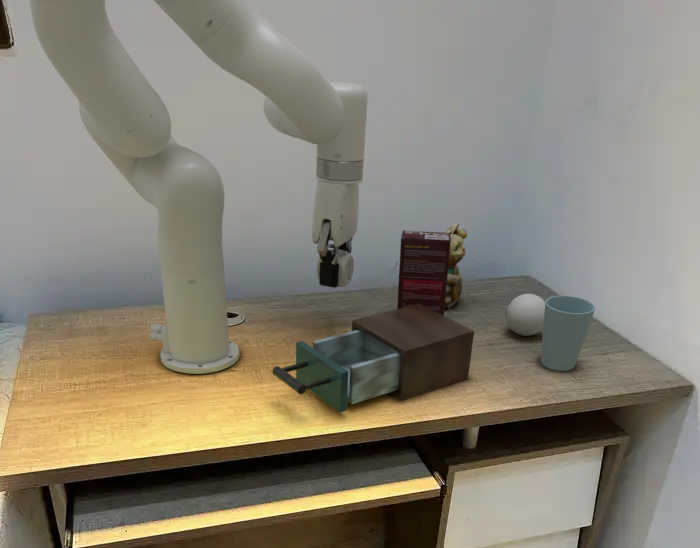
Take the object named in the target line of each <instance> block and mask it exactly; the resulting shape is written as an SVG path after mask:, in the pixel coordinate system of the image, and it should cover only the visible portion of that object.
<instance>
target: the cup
mask: <svg viewBox="0 0 700 548" xmlns="http://www.w3.org/2000/svg"><path fill="white" fill-rule="evenodd" d="M544 302H545V313H544V327H543V329H542V342H541V357H540V362H541V365H542V366H544V367H545V368H546V369H549V370H553V371H556V372H567V371H571V370H573V369H574V368H575V367H576V364H577V361H578V359H579V355H580V354H581V350H582V347H583V345H584V342H585V338H586V336H587V334H588V333H587V332H588V330H589V328H590V324H591V322H592V319H593V316H594V313H595V310H596V305H595V304H594V303H593V302H591V301H589V300H587V299H585V298H583V297H578V296H573V295H553V296H549V297H547V298H546V299H545V300H544Z"/></svg>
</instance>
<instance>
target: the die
mask: <svg viewBox="0 0 700 548" xmlns="http://www.w3.org/2000/svg"><path fill="white" fill-rule="evenodd" d="M333 249H334V248H330V249H328V250H329V251H331V252H332V255H333ZM319 258H320V256H318V259H317V263H316V277H317V279H318V280H319V278H320V262H319ZM354 261H355V260H354V258H353V256H352V254H351V253H349V252H347V251H343V250H339V252H338V259H337V264H339V275H338V286H337V287H336V288H342V287H343V288H344V287H346V286H348V285H349V284H350V282H351V281H352V278H353V275H354V269H355V262H354Z"/></svg>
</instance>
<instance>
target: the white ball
mask: <svg viewBox="0 0 700 548" xmlns="http://www.w3.org/2000/svg"><path fill="white" fill-rule="evenodd" d="M501 303H503V304H506V305H508V306H507V309H506V310H505V320H506V322H507V325H508V327H509V328H510V330H511V331H512V332H513V333H515V334H517V335H519V336H523V337H528V336H535V335H536V334H538V333H539V332H541V331H543V327H544V313H545V300H544V299H543V297H541V296H539V295H537V294H534V293H523V294H520V295H518V296H516V297H515V298H513V299H512V300H511V301H510V303H507V302H503V301H501Z"/></svg>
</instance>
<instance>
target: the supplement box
mask: <svg viewBox="0 0 700 548" xmlns="http://www.w3.org/2000/svg"><path fill="white" fill-rule="evenodd" d="M450 244H451V238H450V233H444V232H441V231H421V230H420V231H419V230H407V229H405V230H404V229H403V230H402V233H401V236H400V247H399V249H400V251H399V266H398V267H399V269H398V286H397V287H398V288H397V304H396V305H397V308H396V309H400V308H404V307H408V306H412V305H416V304H421V305H423V306H425V307H427V308H429V309H431V310H433V311H435V312H437V313H439V314H441V315H443V316H445V310H446V308H445V299H446V288H447V277H448V266H449V255H450Z"/></svg>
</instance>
